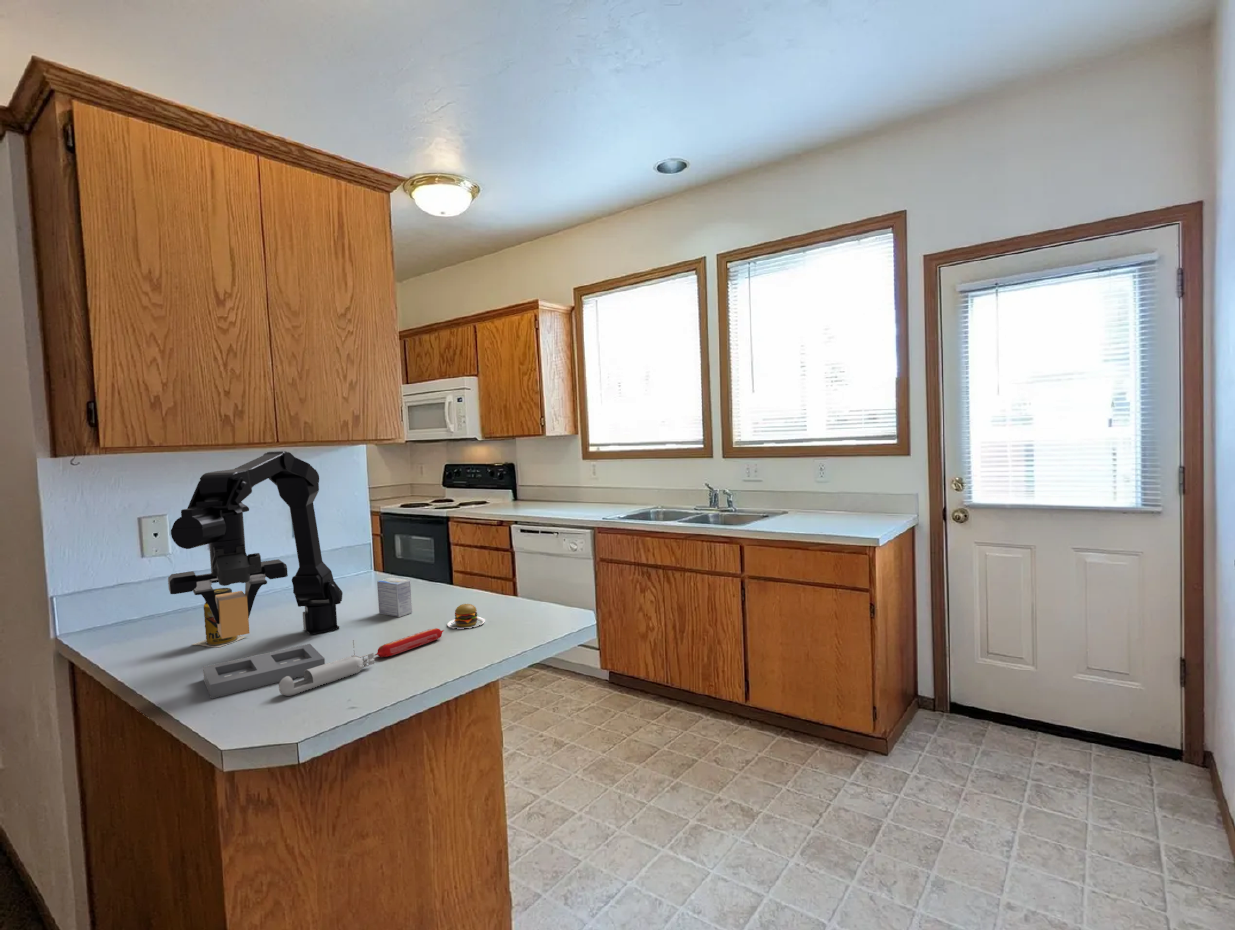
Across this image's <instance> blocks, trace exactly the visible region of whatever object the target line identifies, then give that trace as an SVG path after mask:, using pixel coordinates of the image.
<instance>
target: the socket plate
mask: <svg viewBox="0 0 1235 930" xmlns="http://www.w3.org/2000/svg"><path fill="white" fill-rule="evenodd" d="M323 664H326V659H325V657H324V656H323V655H322V654H321V653H320V652H319V651H318V650H317V649H316V648H315V647H314V646H313V645H312V644H311V643H307V644H303V645H302V644H301V645H298V646H293V647H287V648H284V649H279V650H274V651H271V652H265V653H260V654H255V655H251V656H247V657H242V658H238V659H231V660H229V661H224V662H219V663H214V664H209V665H205V666H202V674H203V682H204V683H205V687H206V689H207V691H208V694H209V697H210V699H215V698H220V697H223V696H228V695H232V694H236V693H240V691H241V692H244V691H243V690H245V691H248V690H247V689H249V690H252V689H256V688H262V687H265V686H268V685H272V684H277V683H278V684H279V683H280V681H281V680H282V679H283V678H284V677H286V676H289V677H291V678H292V680H293V678H294V679H297V678H296V677H298V678H301V677H304V672H305V670H307V669H311V668H314V667H317V666H320V665H323ZM264 685H265V686H264ZM219 696H220V697H219Z"/></svg>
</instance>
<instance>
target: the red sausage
mask: <svg viewBox="0 0 1235 930" xmlns="http://www.w3.org/2000/svg"><path fill="white" fill-rule="evenodd" d="M444 631H445V630H444V629H443V630H441V629H440V628H436V627H435V628H429V629H426V630H422V631H420V632H417V633H414V634H411V635H407V636H405V637H401V638H399V639H395V640H393V641H390V642H387V643H384V644H382V645H380V646H379V647H378V649H377V653H375V654H374V657H375V656H378V657H379V658H387V657H391V656H395V655H398V654H401V653H404V652H407V651H409V650H413V649H415V648H417V647H420V646H423V645H426V644H429V643H431V642H434V641H437V640H439V639H441V638H442V635H443V632H444Z"/></svg>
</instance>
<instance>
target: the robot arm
mask: <svg viewBox="0 0 1235 930" xmlns="http://www.w3.org/2000/svg"><path fill="white" fill-rule="evenodd" d="M267 479H268V480H269V481H271V482H272V483H273V485H275V486H276V487H277V491H278V495H279V497H280V498H281V499H282V500H283V502H284V503H285V504H286V505H287V506H288V507H289V510H290V511H289V512H290V518H291V523H292V530H293V536H294V541H295V547H296V554H297V560H298V565H299V567H298V569H297V571H296V573H295V575H293V576H292V578H291V583H292V587H293V588H292V589H293V591H292V593H293V594H294V598H295V600H296V605H297V607H301V608H302V607H304V611H303V612H302V623H303V624H302V625H303V630H304V631H305V632H307V634H309V635H316V634H322V633H326V632H327V633H328V632H331V631H337V630H340V626H339V625H338V619H337V618H338V616H337V605H340V604H341V603H342V601H343V591H342V590H341V588H340V587H339V586H338V584H337V583H336V581H335V580H334V576H333V573H332V570H331V569H330V568H329V566H328V565H327V564H325V562H324V561H323V557H322V551H321V543H320V538H319V532H318V531H319V530H318V526H317V525H318V524H317V519H316V512H315V505H314V501H315V499H316V498H317V496H318V493H319V491H320V476H319V472H318V471H317V469H315V468H314V467H313V466H312V465H311V464H310V463H308V462H307V461H304V460H302V459H299V458H297V457H295V456H294V455H293V454H292V453H291V452H289V451H286V450H281V451H277V450H276V451H267V452H265V453H264V454H262V455H261V456H259V457H257V458H255V459H252V460H251V461H248V462H246V463H244V464H242V465H240V466H238V467H237V466H236V467H235V468H232V469H224V470H216V471H210V472H205V473H204V474H202V475H201V476H200V478H199V481H198V483H197V485H196V487H195V490H194V492H193V494H192V496H191V499H190V501H189V502H188V503H189V504H188V506H187V508H184V509H181V510H180V516H181V517H178V518H177V519H176V520H175V521H174V522H173V524H172V527H171V530H170V536H171V539H172V540H173V542H174V543H175V545H176V546H178V547H179V548H181V549H186V550H189V549H194V548H199V547H201V546H202V547H203V546H205V545H209V560H210V561H209V562H210V573H205V574H197V575H196V573H195V571H191V570H190V571H186V572H178V573H171V574H170V575H169V576H168V578H167V582H168V583H167V585H168V590H169V594H170V595H177V594H186V593H193V595H194V596H202V598H203V599H204V601H205V603H206V602H207V604H208V606H209V608H210V610H211V612H212V614H213V617H214V619H215V621H216V623H217V624H219V613H218V609H217V604H216V600H215V594H214V590H213V589H214V588H213V587H212V585H213V584H216V583H217V584H219V586H223V587H224V586H227V587H228V586H230V585H232V584H233V585H234V584H239V583H241V584H244V594H245V595H246V596H247V604H248V619H249V618H250V616H251V612H252V608H253V606H254V602H255V599H256V596H257V594H258V592H259V590H260V589H261V587H262V586H264V585H267V584H268V580H266V578H268V579H269V580H274V579H275V580H276V579H282V578H286V577H288V575H289V574H288V566H287V564H286V563H285V562H283V561H282V560H280V559H272V560H265V561H263V560H262V558H261V557H262V556H261V553H259V552H254V553H248V554H247V553H246V552H247V551H246V539H245V525H244V523H245V522H244V513H246V512H249V511H250V507H249V506H248V505H246V504H244V503H243V501H244V500H245V499H246V498H248V496H250V495H251V494H252V493H253V487H255V486H256V485H259V484H260V483H262V482H264V481H266V480H267Z"/></svg>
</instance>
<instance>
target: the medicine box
mask: <svg viewBox="0 0 1235 930" xmlns="http://www.w3.org/2000/svg"><path fill="white" fill-rule="evenodd" d="M411 587H412V585H411V580H410V579H404V578H397V577H387V578H384V579H380V580H378V581H377V599H378V602H377V603H378V613H379V614H382V615H385V616H386V615H387V616H392V617H398V618H401V617H404V616H406V615H410V614H412V613H413V603H412V588H411Z"/></svg>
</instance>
